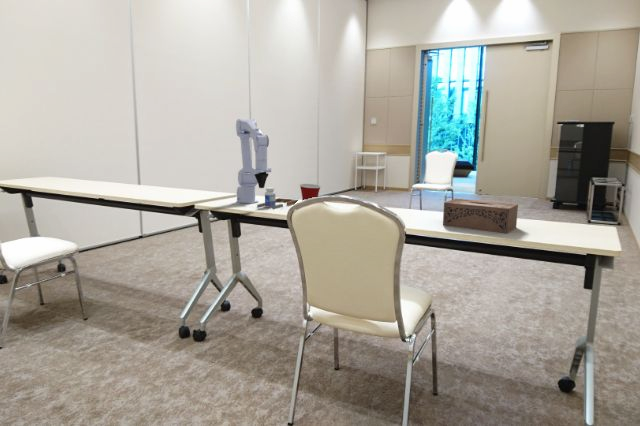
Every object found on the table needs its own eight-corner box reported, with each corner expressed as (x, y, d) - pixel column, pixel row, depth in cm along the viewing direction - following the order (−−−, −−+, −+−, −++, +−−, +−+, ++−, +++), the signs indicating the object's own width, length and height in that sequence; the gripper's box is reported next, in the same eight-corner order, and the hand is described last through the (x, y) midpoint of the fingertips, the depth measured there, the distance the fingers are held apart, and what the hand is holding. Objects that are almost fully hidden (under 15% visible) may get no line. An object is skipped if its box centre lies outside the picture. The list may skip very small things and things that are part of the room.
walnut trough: (268, 203, 245) (268, 200, 245) (279, 201, 254) (279, 198, 254) (288, 205, 239) (288, 202, 239) (298, 203, 248) (298, 199, 248)
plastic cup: (315, 210, 224) (316, 186, 222) (295, 209, 229) (295, 185, 226) (324, 207, 234) (324, 184, 232) (304, 206, 238) (305, 183, 236)
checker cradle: (257, 206, 234) (257, 204, 234) (266, 204, 241) (266, 202, 241) (274, 208, 229) (274, 205, 229) (283, 206, 236) (283, 203, 236)
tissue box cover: (442, 226, 192) (444, 202, 191) (454, 220, 204) (455, 198, 202) (507, 234, 178) (509, 208, 176) (516, 228, 189) (518, 204, 188)
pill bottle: (263, 206, 236) (263, 187, 235) (272, 205, 239) (272, 186, 237) (267, 207, 232) (267, 188, 230) (277, 207, 234) (277, 188, 233)
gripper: (259, 161, 216) (259, 190, 219) (276, 159, 229) (276, 187, 231) (247, 160, 220) (247, 189, 222) (264, 159, 232) (264, 186, 235)
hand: (261, 188), depth 227 cm, fingers closed
